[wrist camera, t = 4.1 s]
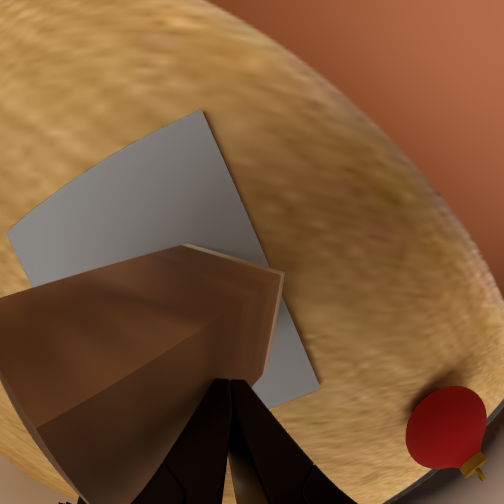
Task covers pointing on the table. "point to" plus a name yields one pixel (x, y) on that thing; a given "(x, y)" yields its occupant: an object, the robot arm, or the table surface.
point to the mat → (158, 228)
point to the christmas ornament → (448, 431)
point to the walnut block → (131, 358)
